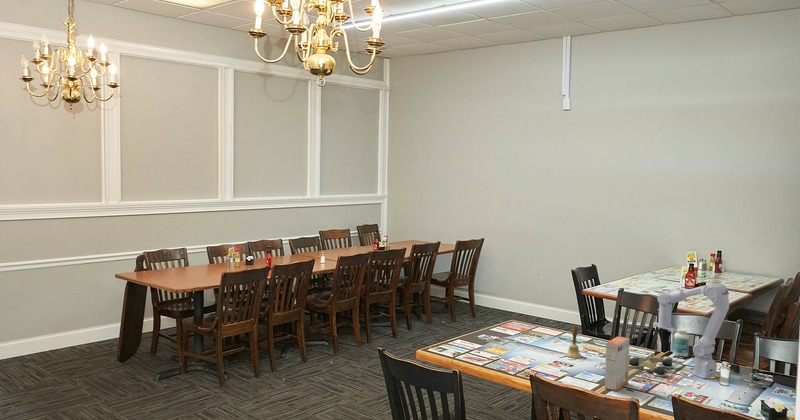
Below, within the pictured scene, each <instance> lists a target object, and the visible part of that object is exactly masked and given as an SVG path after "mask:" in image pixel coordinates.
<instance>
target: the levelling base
mask: <svg viewBox="0 0 800 420" xmlns="http://www.w3.org/2000/svg"><path fill="white" fill-rule="evenodd" d="M650 363H651V364H655V365H656V364H657V363H655V362H650ZM664 366H665V365H664ZM630 368H631V369H640V368H642V369H641V370H643V371H644V370H645V372H647V371H648V373H652V372H653V373H652V375H653V376H654V377H656V376H657V377H658V378H666V377H667V374H666V373H665V374H656V373H654V369H650V368H646V367H643V366H642V364H639V365H637V366H635V365H630V364H629V369H630ZM666 368H668V369H666ZM672 368H673V369H674V365H673V364H672V366H665V371H667V370H673V369H672ZM665 376H666V377H665ZM657 377H656V378H657Z"/></svg>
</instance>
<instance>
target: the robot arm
mask: <svg viewBox="0 0 800 420" xmlns="http://www.w3.org/2000/svg"><path fill="white" fill-rule="evenodd" d="M729 294H730V291H729V290H728V288H727V286H725V285H724V284H723V283H716V284H707V285H702V286H701V285H700V286H698V287H694V288H690V289H686V290H685V289H683V288H680V287H678V288H676V289H675V290H667V291H666V292H663V293H660V294H659V295H658V296H657V302H658V303H659V307H658V322H655V321H654V322H653V327H656V332H657V334H658V335H659V339H660V344H661V345H667V343H668V340H669V337H670V335H671V334H675V333H677V329H676V328H674V327H673V325H672V310H673V304H676V303H678V302H684V301H686V300H687V298H688V297H692V296H693V297H694V296H697V295H702V296H703V297H707V298H708V300H710V301H711V302H712V304H713V305H714V307H715V308H714V309H713V312H712V314H711V316H710V319H709V321H708V323H707V326H706V327H705V330H704V332H703V335H702V336H701V337H700V338H699V340H697V343H696V344H694V345H693V347H692V353H693V354H694V369H693V371H689V373H690V374H692V373H693V375H694V374H695V376H697V377H699V376H700V377H699V378H701V377H702V378H701V379H703V378H707V379H711V378H710V377H716V376H717V361H715V360H714V359H713V355H712V354H713V353H714V352H715V349H716V348H715V344H716V340H715V339H716V338H717V336H718V333H719V331H720V329H721V327H722V324H723V322H724V320H725V319H726V318H725V317H726V315H727V314H728V311H729V310H730V298H729Z"/></svg>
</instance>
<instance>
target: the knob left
mask: <svg viewBox="0 0 800 420" xmlns="http://www.w3.org/2000/svg"><path fill="white" fill-rule="evenodd" d="M651 363H652V362H649V361H648V362H647V361H642V362H641V365H642V366H643V367H646V368H650V369H654V373H656V374H666V372H665V366H664V365H662V363H654V364H651ZM655 364H656V365H655Z"/></svg>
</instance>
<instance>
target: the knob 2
mask: <svg viewBox="0 0 800 420" xmlns="http://www.w3.org/2000/svg"><path fill="white" fill-rule="evenodd" d="M648 363H660V364H662V365H665V366H672V365H673V358H672V357H671V356H667V355H664V356H662V357H659V356H658V357H657V356H648Z"/></svg>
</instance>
